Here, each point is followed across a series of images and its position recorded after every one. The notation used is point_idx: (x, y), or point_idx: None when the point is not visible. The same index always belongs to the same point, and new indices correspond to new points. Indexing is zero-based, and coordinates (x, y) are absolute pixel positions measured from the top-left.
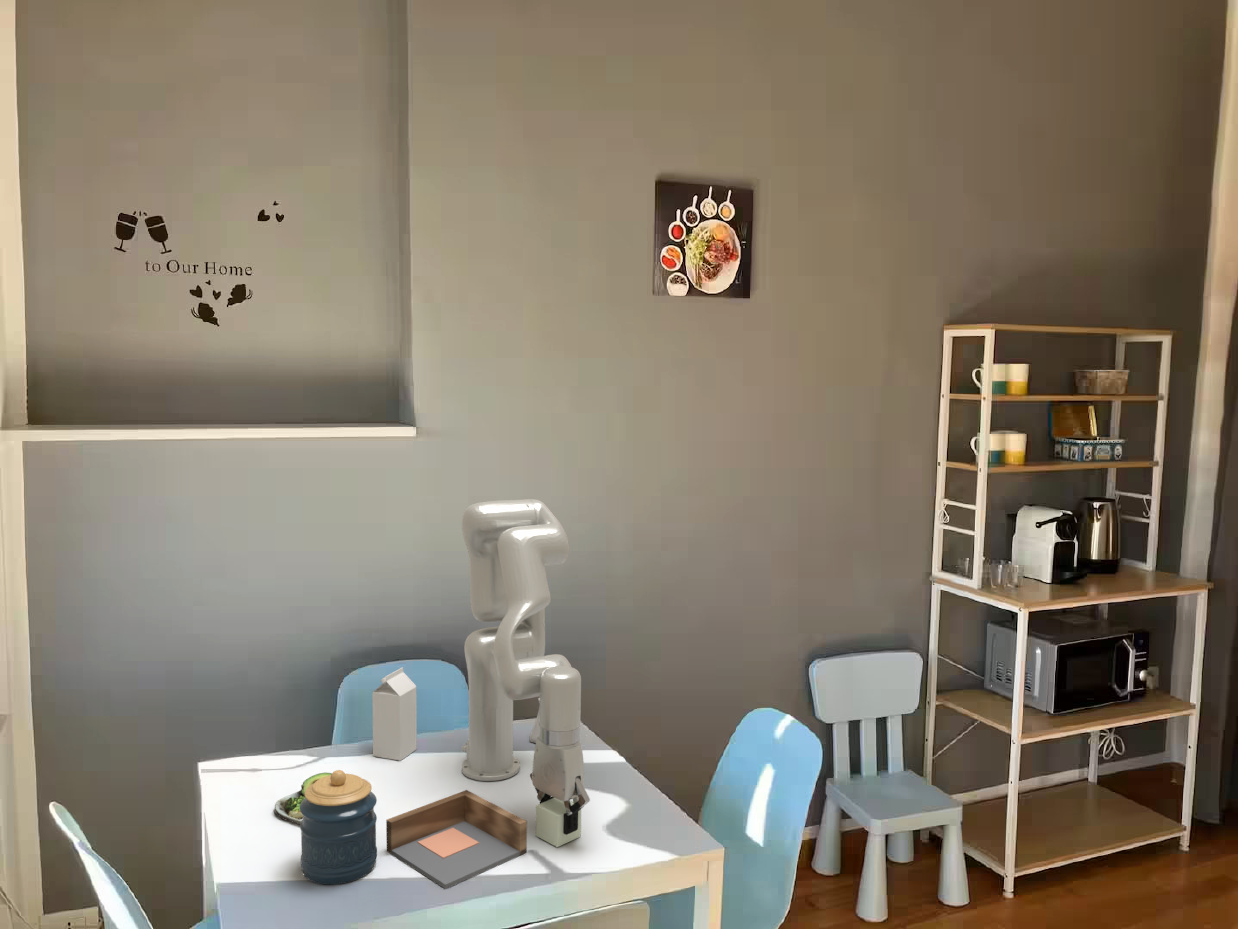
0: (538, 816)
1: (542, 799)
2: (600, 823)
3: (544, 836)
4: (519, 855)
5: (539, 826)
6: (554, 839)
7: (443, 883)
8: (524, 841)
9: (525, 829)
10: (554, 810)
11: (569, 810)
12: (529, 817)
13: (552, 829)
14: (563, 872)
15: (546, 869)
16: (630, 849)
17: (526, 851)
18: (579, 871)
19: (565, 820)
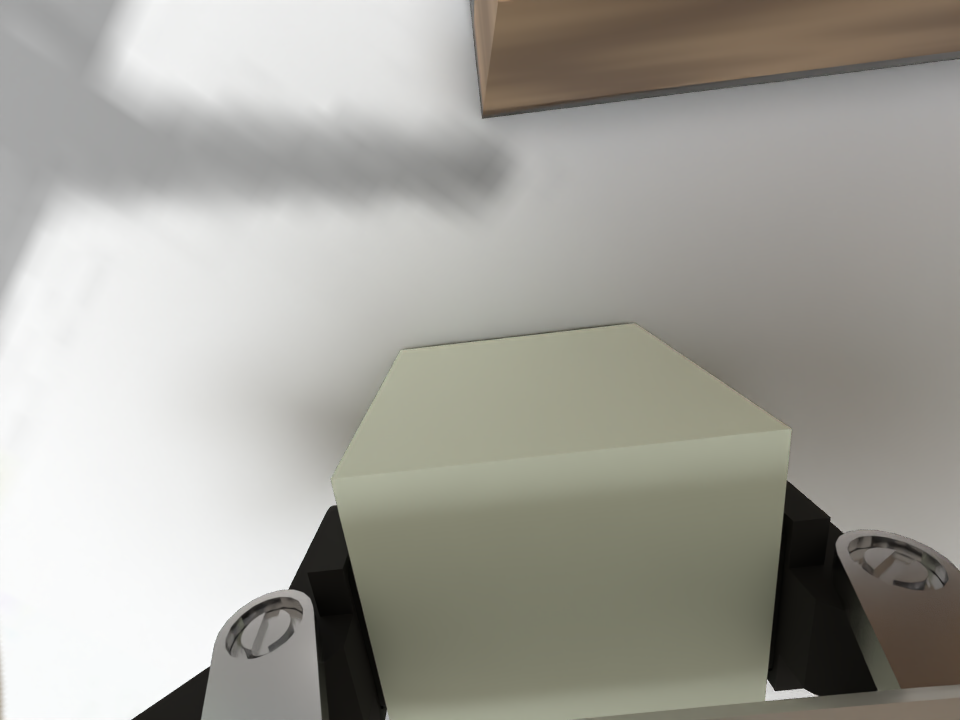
0: (673, 382)
1: (834, 572)
2: None
3: (542, 342)
4: (473, 30)
5: (620, 352)
6: (423, 361)
7: None
8: (482, 60)
9: (489, 24)
10: (499, 534)
11: (225, 661)
12: (875, 441)
13: (444, 385)
14: (62, 180)
15: (162, 93)
16: (160, 659)
17: (483, 116)
18: (30, 286)
19: (334, 524)
